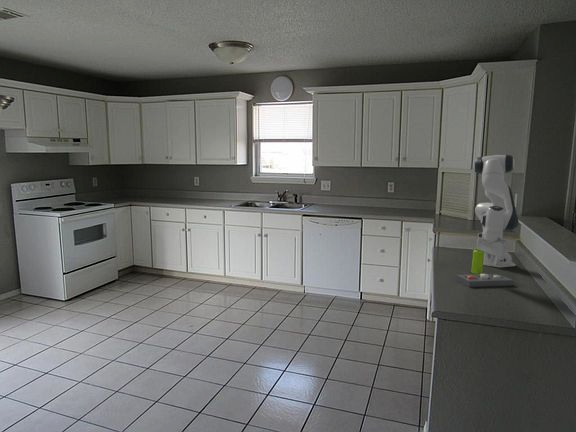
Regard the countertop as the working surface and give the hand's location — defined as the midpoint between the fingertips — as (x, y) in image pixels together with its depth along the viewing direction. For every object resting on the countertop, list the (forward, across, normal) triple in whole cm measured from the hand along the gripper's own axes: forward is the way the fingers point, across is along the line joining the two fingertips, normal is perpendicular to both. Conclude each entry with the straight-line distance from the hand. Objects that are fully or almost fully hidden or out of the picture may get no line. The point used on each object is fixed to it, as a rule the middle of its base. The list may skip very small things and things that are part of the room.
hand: (490, 261), depth 221 cm
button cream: (+10, +1, +2) cm, 11 cm away
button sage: (+11, +1, -6) cm, 13 cm away
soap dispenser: (+12, +18, -7) cm, 23 cm away
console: (+12, +1, +2) cm, 12 cm away
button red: (+11, +1, +10) cm, 15 cm away
